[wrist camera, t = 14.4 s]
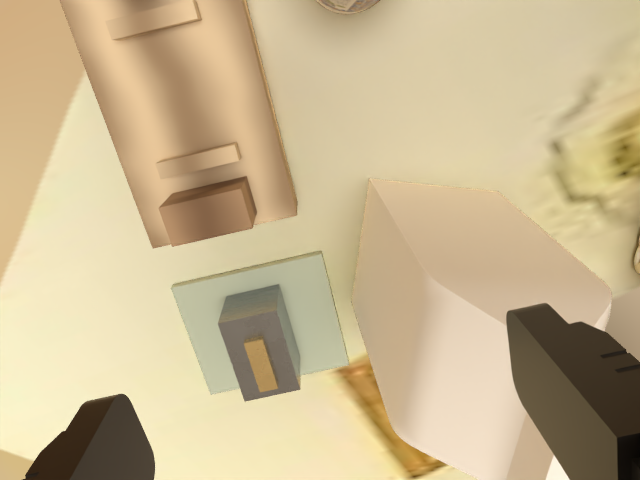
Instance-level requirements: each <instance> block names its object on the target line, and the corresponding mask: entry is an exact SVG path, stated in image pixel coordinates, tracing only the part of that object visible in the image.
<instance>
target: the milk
mask: <svg viewBox="0 0 640 480" xmlns="http://www.w3.org/2000/svg"><path fill="white" fill-rule="evenodd" d="M611 300H612V293H611V290H610V288H609V287H608V285H607V284H606V283H605V282H604V281H603V280H602V279H600V278H599V277H598V276H597V275H596V274H595V273H593V272H592V271H591V270H590V269H589V268H587V267H586V266H585V265H584V264H583V263H582V262H580V261H579V260H578V259H577V258H576V257H575V256H573V255H572V254H571V253H570V252H569V251H568V250H566V249H565V248H564V247H563V246H562V245H561V244H559V243H558V242H557V241H556V240H555V239H553V238H552V237H551V236H550V235H549V234H548V233H546V232H545V231H544V230H543V229H542V228H541V227H539V226H538V225H537V224H536V223H535V222H534V221H532V220H531V219H530V218H529V217H528V216H527V215H525V214H524V213H523V212H522V211H521V210H519V209H518V208H517V207H516V206H515V205H514V204H512V203H511V202H510V201H509V200H508V199H507V198H505V197H504V196H503V195H502V194H501V193H500V192H498V191H491V190H481V189H471V188H461V187H451V186H440V185H430V184H420V183H410V182H400V181H390V180H380V179H370V178H369V183H368V190H367V197H366V204H365V211H364V218H363V225H362V232H361V238H360V245H359V252H358V259H357V266H356V273H355V280H354V287H353V294H352V300H351V303H352V306H353V309H354V312H355V315H356V318H357V322H358V325H359V328H360V331H361V334H362V337H363V340H364V343H365V346H366V350H367V353H368V356H369V359H370V362H371V365H372V368H373V371H374V374H375V378H376V381H377V384H378V387H379V390H380V393H381V396H382V399H383V403H384V406H385V409H386V412H387V415H388V418H389V421H390V424H391V426H392V428H393V430H394V432H395V433H396V434H397V435H398V436H399V437H400V438H401V439H402V440H404V441H405V442H407V443H408V444H409V445H411V446H413V447H414V448H416V449H418V450H420V451H422V452H424V453H426V454H428V455H430V456H432V457H434V458H436V459H438V460H440V461H442V462H444V463H446V464H448V465H450V466H452V467H454V468H456V469H458V470H460V471H462V472H464V473H466V474H468V475H470V476H472V477H474V478H477V479H479V480H570V479H569V478H568V476H567V474H566V473H565V471H564V470H563V468H562V467H561V465H560V463H559V462H558V460H557V459H556V457H555V456H554V454H553V452H552V451H551V449H550V448H549V446H548V445H547V443H546V441H545V440H544V438H543V437H542V435H541V434H540V432H539V430H538V429H537V427H536V426H535V424H534V422H533V421H532V419H531V418H530V416H529V415H528V413H527V411H526V410H525V408H524V407H523V405H522V403H521V401H520V399H519V397H518V394H517V391H516V389H515V385H514V381H513V377H512V370H511V360H510V351H509V342H508V333H507V324H506V314H507V312H508V311H509V310H514V309H518V308H523V307H528V306H532V305H537V304H542V303H547V304H549V305H550V306H551V307H552V308H553V309H554V310H555V311H556V312H557V313H558V314H559V315H560V316H561V317H562V318H563V319H564V320H565V321H566V322H567V323H568V324H571V323H575V322H580V321H582V322H584V323H586V324H588V325H591V326H593V327H595V328H597V329H600V330H602V331H605V328H606V325H607V323H608V320H609V317H610V310H611Z"/></svg>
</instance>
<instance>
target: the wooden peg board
mask: <svg viewBox="0 0 640 480" xmlns="http://www.w3.org/2000/svg"><path fill="white" fill-rule="evenodd" d="M60 3H61V5H62V8H63V11H64V13H65V16H66V19H67V21H68V24H69V26H70V29H71V32H72V34H73V37H74V40H75V42H76V45H77V48H78V50H79V53H80V56H81V59H82V61H83V64H84V67H85V69H86V72H87V75H88V77H89V80H90V83H91V85H92V88H93V91H94V93H95V96H96V99H97V101H98V104H99V106H100V109H101V112H102V114H103V117H104V120H105V122H106V125H107V128H108V130H109V133H110V136H111V138H112V141H113V144H114V146H115V149H116V152H117V154H118V157H119V160H120V162H121V165H122V168H123V170H124V173H125V176H126V178H127V181H128V184H129V186H130V189H131V192H132V194H133V197H134V200H135V202H136V205H137V208H138V210H139V213H140V216H141V218H142V221H143V224H144V226H145V229H146V232H147V234H148V237H149V240H150V242H151V245H152V248H157V247H161V246H166V245H170V244H171V245H172V247H173V246H178V245H182V244H186V243H191V242H195V241H200V240H204V239H208V238H213V237H217V236H221V235H226V234H230V233H234V232H239V231H243V230H247V229H252V228H253V225H257V224H261V223H266V222H270V221H274V220H279V219H283V218H287V217H292V216H296V215H297V198H296V194H295V190H294V186H293V182H292V178H291V175H290V171H289V167H288V163H287V159H286V155H285V151H284V147H283V143H282V139H281V135H280V131H279V128H278V124H277V120H276V116H275V112H274V108H273V104H272V100H271V96H270V92H269V88H268V84H267V80H266V77H265V73H264V69H263V65H262V61H261V57H260V53H259V49H258V45H257V41H256V37H255V33H254V30H253V26H252V22H251V18H250V14H249V10H248V6H247V2H246V0H60Z"/></svg>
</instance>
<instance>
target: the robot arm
mask: <svg viewBox="0 0 640 480" xmlns="http://www.w3.org/2000/svg"><path fill="white" fill-rule="evenodd" d="M506 324H507V333H508V342H509V351H510V360H511V370H512V377H513V381H514V385H515V389H516V391H517V394H518V397H519V399H520V401H521V403H522V405H523V407H524V408H525V410H526V411H527V413H528V415H529V416H530V418H531V419H532V421H533V422H534V424H535V426H536V427H537V429H538V430H539V432H540V434H541V435H542V437H543V438H544V440H545V441H546V443H547V445H548V446H549V448H550V449H551V451H552V452H553V454H554V456H555V457H556V459H557V460H558V462H559V463H560V465H561V467H562V468H563V470H564V471H565V473H566V474H567V476H568V478H569V479H570V480H640V362H639V361H638V360H637V359H636V358H635V357H633V356H632V355H631V354H630V353H627V352H626V349H625V348H623V347H622V346H621V345H620V344H619V343H618V342H617V341H616V340H615V339H613V338H612V337H611V336H610V335H609V334H608V333H606V332H604V331H602V330H600V329H597V328H595V327H593V326H591V325H588V324H586V323H584V322H582V321H580V322H575V323H571V324H568V323H567V322H566V321H565V320H564V319H563V318H562V317H561V316H560V315H559V314H558V313H557V312H556V311H555V310H554V309H553V308H552V307H551V306H550V305H549V304H547V303H542V304H537V305H532V306H528V307H523V308H518V309H514V310H509V311H508V312H507V314H506ZM154 474H155V461H154V454H153V451H152V448H151V446H150V444H149V441H148V439H147V437H146V435H145V432H144V430H143V428H142V426H141V423H140V421H139V419H138V417H137V414H136V412H135V410H134V408H133V406H132V403H131V401H130V400H129V398H128V397H127V396H126V395H124V394H118V395H113V396H109V397H104V398H99V399H95V400H90V401H87V402H85V403H84V404H83V405H82V406H81V407H80V409H79V410H78V412H77V414H76V415H75V417H74V418H73V420H72V421H71V423H70V425H69V426H68V428H67V429H66V431H62V432H61V433H60V434H59V435H58V436H57V437H56V438H55V439H54V440H53V441H52V442H51V443H50V444H49V445H48V446H47V447H46V448H45V449H43V450H42V451H41V452H40V454H39V455H38V457H37V458H36V460H35V461H34V463H33V464H32V466H31V467H30V469H29V470H28V472H27V473H26V475H25V476H26V479H23V480H154Z"/></svg>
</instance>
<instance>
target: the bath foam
mask: <svg viewBox="0 0 640 480" xmlns="http://www.w3.org/2000/svg"><path fill="white" fill-rule="evenodd" d="M316 1H317V2H318V3H319V4H320V5H322V6H323V7H325V8H326V9H328V10H330V11H333V12H336V13H341V14H353V13H358V12H361V11H364V10H366V9H368V8H370V7H371V6H373V5H374V4H376V3H377V2H379V1H380V0H316Z"/></svg>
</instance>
